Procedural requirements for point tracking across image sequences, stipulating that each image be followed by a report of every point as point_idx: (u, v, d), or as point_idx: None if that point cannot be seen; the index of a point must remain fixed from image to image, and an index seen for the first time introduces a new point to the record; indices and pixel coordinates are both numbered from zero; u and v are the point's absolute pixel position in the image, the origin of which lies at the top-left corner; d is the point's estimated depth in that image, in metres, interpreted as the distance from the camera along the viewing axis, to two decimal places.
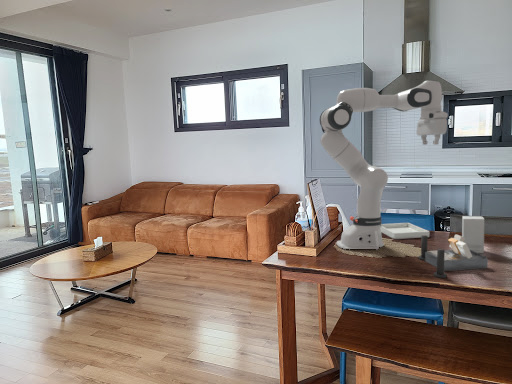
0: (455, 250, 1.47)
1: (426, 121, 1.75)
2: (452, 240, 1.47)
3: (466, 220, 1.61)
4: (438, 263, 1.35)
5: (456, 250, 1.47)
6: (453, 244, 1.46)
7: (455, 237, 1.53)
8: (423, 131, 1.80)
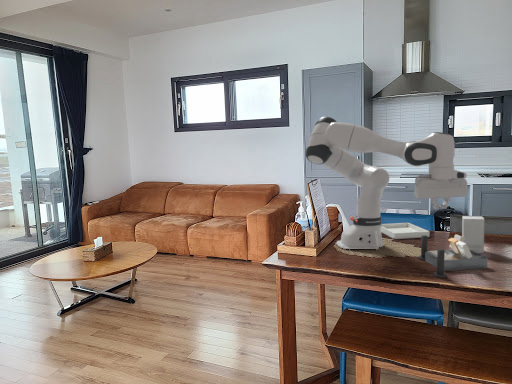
0: (455, 250, 1.47)
1: (448, 181, 1.41)
2: (452, 240, 1.47)
3: (466, 220, 1.61)
4: (438, 263, 1.35)
5: (456, 250, 1.47)
6: (453, 244, 1.46)
7: (455, 237, 1.53)
8: (434, 193, 1.42)
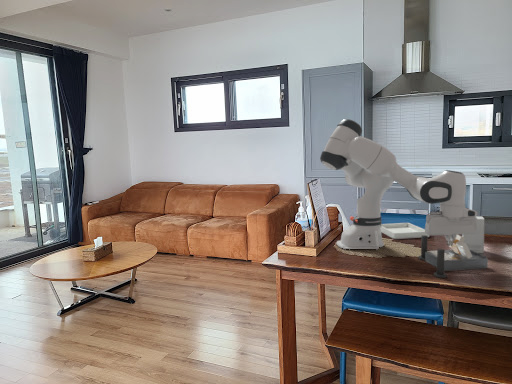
0: (456, 250, 1.47)
1: (458, 219, 1.43)
2: None
3: None
4: (438, 263, 1.35)
5: (456, 250, 1.47)
6: (454, 244, 1.46)
7: None
8: (445, 230, 1.44)
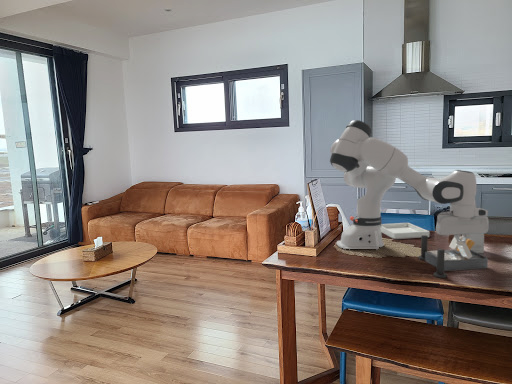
0: None
1: (469, 219, 1.43)
2: (469, 239, 1.47)
3: None
4: (438, 263, 1.35)
5: None
6: (467, 242, 1.47)
7: None
8: (456, 230, 1.44)
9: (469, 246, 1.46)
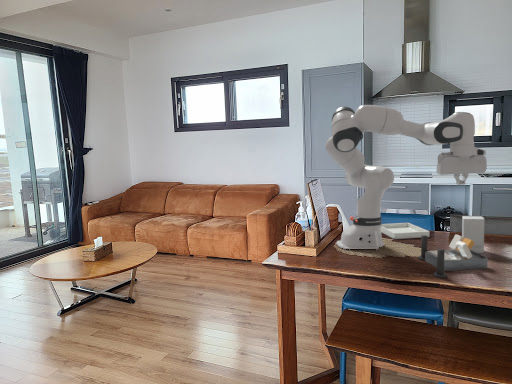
0: None
1: (468, 158, 1.51)
2: (469, 239, 1.47)
3: (466, 220, 1.61)
4: (438, 263, 1.35)
5: None
6: (467, 242, 1.47)
7: (455, 237, 1.53)
8: (456, 170, 1.52)
9: (469, 246, 1.46)
